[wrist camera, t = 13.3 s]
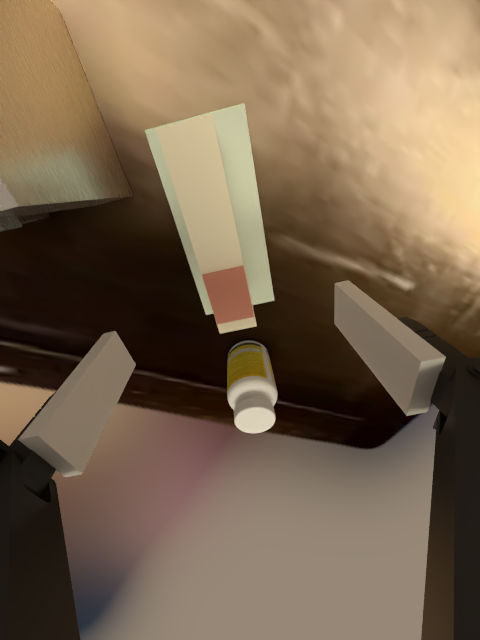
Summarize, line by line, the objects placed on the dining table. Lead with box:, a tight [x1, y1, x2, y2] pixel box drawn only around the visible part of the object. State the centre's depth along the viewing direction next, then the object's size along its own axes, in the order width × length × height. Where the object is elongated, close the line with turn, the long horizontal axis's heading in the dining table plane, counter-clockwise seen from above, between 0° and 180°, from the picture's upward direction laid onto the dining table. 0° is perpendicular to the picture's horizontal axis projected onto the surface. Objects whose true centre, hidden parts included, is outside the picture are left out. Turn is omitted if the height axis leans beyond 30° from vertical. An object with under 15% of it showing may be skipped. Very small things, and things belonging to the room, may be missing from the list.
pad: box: [145, 103, 274, 315], centre depth 22 cm, size 17×8×1 cm, turn 12°
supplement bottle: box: [227, 340, 277, 433], centre depth 26 cm, size 5×5×10 cm
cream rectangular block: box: [156, 113, 257, 334], centre depth 18 cm, size 13×3×8 cm, turn 12°
